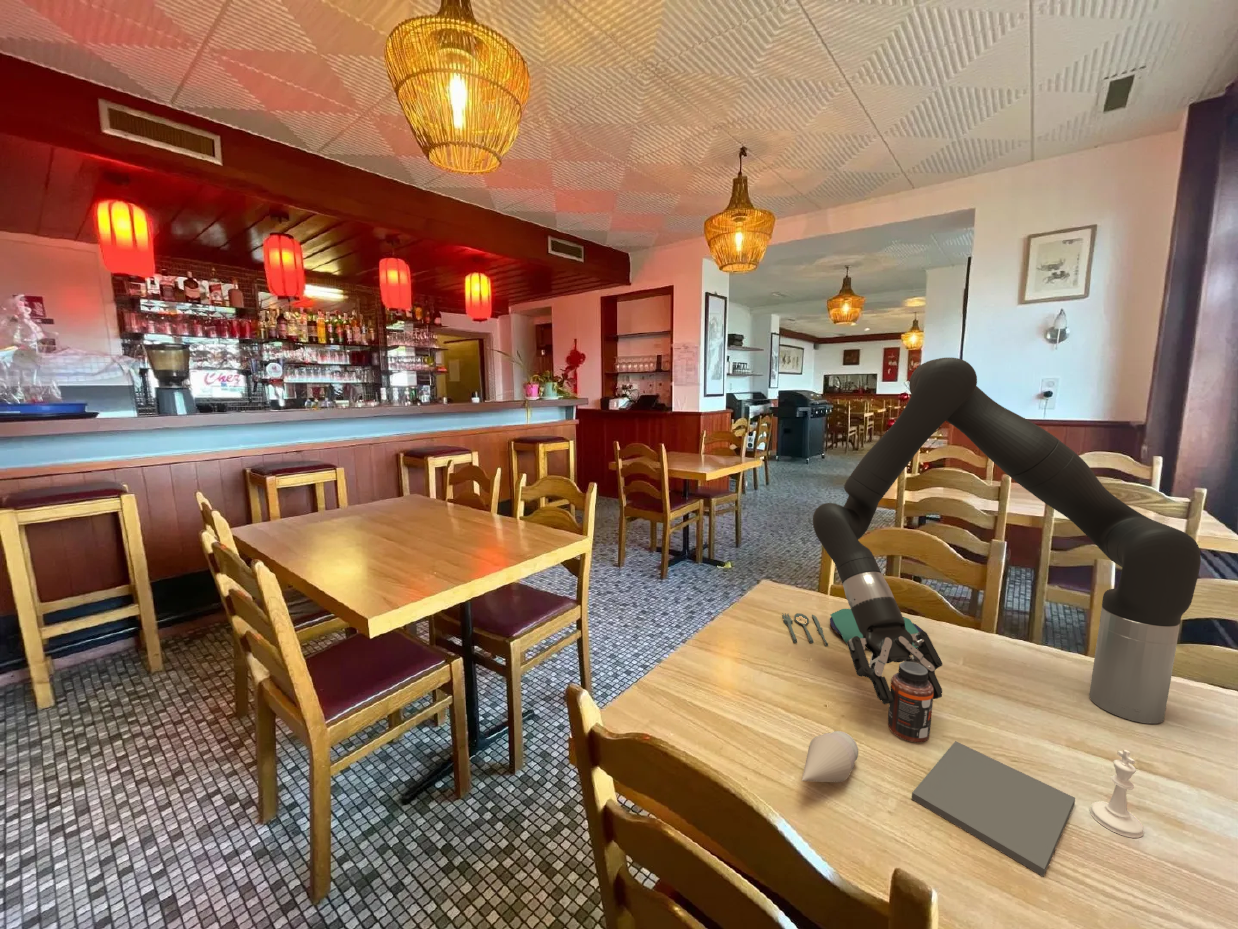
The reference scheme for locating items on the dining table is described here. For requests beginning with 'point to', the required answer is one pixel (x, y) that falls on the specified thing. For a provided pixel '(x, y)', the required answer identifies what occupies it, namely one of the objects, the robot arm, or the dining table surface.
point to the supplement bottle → (911, 703)
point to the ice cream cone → (830, 757)
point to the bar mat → (997, 805)
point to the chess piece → (1119, 801)
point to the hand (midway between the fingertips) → (913, 700)
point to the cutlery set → (841, 625)
